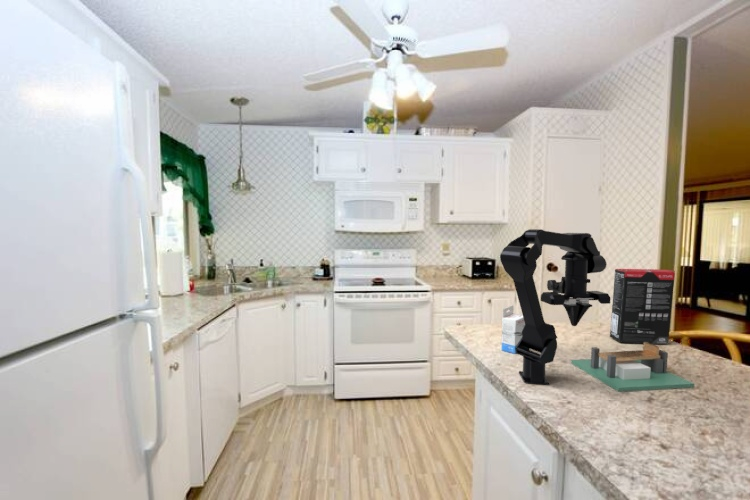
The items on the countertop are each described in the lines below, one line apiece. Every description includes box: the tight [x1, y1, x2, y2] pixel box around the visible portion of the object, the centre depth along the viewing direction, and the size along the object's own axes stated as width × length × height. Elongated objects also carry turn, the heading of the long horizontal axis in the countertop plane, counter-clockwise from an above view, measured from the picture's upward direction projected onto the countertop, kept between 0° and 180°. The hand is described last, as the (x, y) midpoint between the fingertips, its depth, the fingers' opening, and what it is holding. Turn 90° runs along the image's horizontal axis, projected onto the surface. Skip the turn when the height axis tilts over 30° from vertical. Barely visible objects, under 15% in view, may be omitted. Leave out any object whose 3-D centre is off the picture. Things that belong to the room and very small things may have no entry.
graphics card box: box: [609, 268, 676, 346], centre depth 122 cm, size 17×7×27 cm, turn 84°
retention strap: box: [598, 342, 661, 361], centre depth 96 cm, size 16×4×4 cm, turn 96°
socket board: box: [570, 346, 695, 392], centre depth 96 cm, size 22×18×7 cm
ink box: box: [501, 305, 525, 355], centre depth 116 cm, size 8×5×15 cm, turn 134°
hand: (573, 325), depth 100 cm, fingers closed
